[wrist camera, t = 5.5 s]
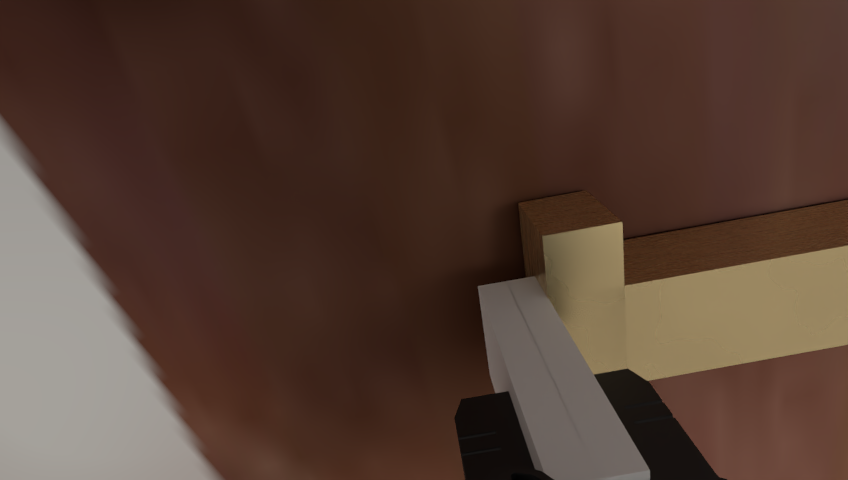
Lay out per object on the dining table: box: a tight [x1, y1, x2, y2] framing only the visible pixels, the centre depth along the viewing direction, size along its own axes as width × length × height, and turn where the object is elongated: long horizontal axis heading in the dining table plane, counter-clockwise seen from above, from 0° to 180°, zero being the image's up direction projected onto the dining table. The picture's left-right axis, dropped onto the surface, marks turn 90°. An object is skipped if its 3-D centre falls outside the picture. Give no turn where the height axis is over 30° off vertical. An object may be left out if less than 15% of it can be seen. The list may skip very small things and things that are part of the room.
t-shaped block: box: [518, 191, 848, 381], centre depth 15 cm, size 6×11×2 cm, turn 100°
